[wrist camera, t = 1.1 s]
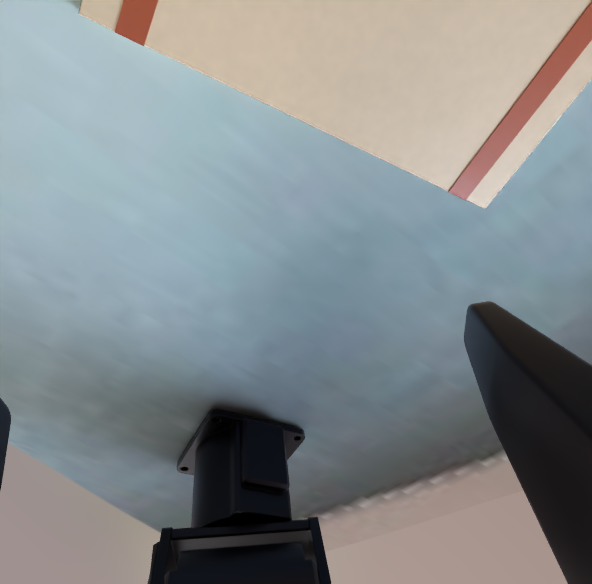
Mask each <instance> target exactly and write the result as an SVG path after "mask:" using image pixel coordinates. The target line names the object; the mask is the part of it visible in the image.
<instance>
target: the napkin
mask: <svg viewBox="0 0 592 584" xmlns="http://www.w3.org/2000/svg"><path fill="white" fill-rule="evenodd" d="M79 14H80V15H82V16H84V17H86V18H88V19H90V20H92V21H94V22H96V23H99V24H101V25H103V26H105V27H107V28H109V29H111V30H113V31H115V32H116V33H118V34H120V35H122V36H124V37H126V38H128V39H130V40H132V41H134V42H136V43H138V44H141V45H143V46H147V47H149V48H151V49H153V50H155V51H157V52H159V53H161V54H163V55H165V56H167V57H169V58H172V59H174V60H176V61H178V62H180V63H182V64H184V65H186V66H188V67H190V68H192V69H194V70H197V71H199V72H201V73H203V74H205V75H207V76H209V77H211V78H213V79H215V80H217V81H219V82H222V83H224V84H226V85H228V86H230V87H232V88H234V89H236V90H238V91H240V92H242V93H244V94H247V95H249V96H251V97H253V98H255V99H257V100H259V101H261V102H263V103H265V104H267V105H269V106H272V107H274V108H276V109H278V110H280V111H282V112H284V113H286V114H288V115H290V116H292V117H294V118H297V119H299V120H301V121H303V122H305V123H307V124H309V125H311V126H313V127H315V128H317V129H320V130H322V131H324V132H326V133H328V134H330V135H332V136H334V137H336V138H338V139H340V140H342V141H345V142H347V143H349V144H351V145H353V146H355V147H357V148H359V149H361V150H363V151H365V152H367V153H370V154H372V155H374V156H376V157H378V158H380V159H382V160H384V161H386V162H388V163H390V164H392V165H395V166H397V167H399V168H401V169H403V170H405V171H407V172H409V173H411V174H413V175H415V176H417V177H420V178H422V179H424V180H426V181H428V182H430V183H432V184H434V185H436V186H438V187H440V188H442V189H445V190H447V191H448V192H449V193H452V194H454V195H456V196H458V197H460V198H462V199H464V200H467V201H470V202H472V203H474V204H476V205H478V206H480V207H482V208H484V209H486V207H487V206H488V205H489V204H490V202H491V201H492V200H493V199H494V198H495V196H496V195H497V194H498V193H499V191H500V190H501V189H502V188H503V187H504V185H505V184H506V183H507V182H508V180H509V179H510V178H511V177H512V176H513V174H514V173H515V172H516V171H517V170H518V168H519V167H520V166H521V165H522V163H523V162H524V161H525V160H526V159H527V157H528V156H529V155H530V154H531V152H532V151H533V150H534V149H535V148H536V146H537V145H538V144H539V143H540V141H541V140H542V139H543V138H544V137H545V135H546V134H547V133H548V132H549V130H550V129H551V128H552V127H553V126H554V124H555V123H556V122H557V121H558V119H559V118H560V117H561V116H562V115H563V113H564V112H565V111H566V110H567V108H568V107H569V106H570V105H571V104H572V102H573V101H574V100H575V99H576V98H577V96H578V95H579V94H580V93H581V91H582V90H583V89H584V88H585V87H586V85H587V84H588V83H589V82H590V80H591V79H592V0H82V2H81V6H80V10H79Z"/></svg>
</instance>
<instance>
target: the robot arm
mask: <svg viewBox="0 0 592 584" xmlns="http://www.w3.org/2000/svg"><path fill="white" fill-rule="evenodd" d="M464 342H465V347H466V350H467V353H468V356H469V359H470V362H471V365H472V368H473V371H474V374H475V377H476V380H477V383H478V386H479V389H480V392H481V395H482V398H483V401H484V404H485V407H486V409H487V412H488V415H489V418H490V420H491V422H492V425H493V427H494V429H495V431H496V433H497V436H498V438H499V440H500V442H501V444H502V446H503V448H504V450H505V452H506V454H507V457H508V459H509V461H510V463H511V465H512V467H513V469H514V471H515V473H516V475H517V478H518V480H519V482H520V484H521V486H522V488H523V490H524V492H525V494H526V496H527V498H528V501H529V503H530V505H531V507H532V509H533V511H534V513H535V515H536V517H537V520H538V522H539V524H540V526H541V528H542V530H543V532H544V534H545V536H546V538H547V540H548V543H549V545H550V547H551V549H552V551H553V553H554V555H555V557H556V559H557V562H558V564H559V566H560V568H561V570H562V572H563V574H564V576H565V578H566V580H567V583H568V584H592V365H590V364H589V363H587V362H586V361H584V360H582V359H581V358H579V357H578V356H576V355H575V354H573V353H572V352H570V351H568V350H567V349H565V348H564V347H562V346H561V345H559V344H558V343H556V342H554V341H553V340H551V339H550V338H548V337H547V336H545V335H544V334H542V333H540V332H539V331H537V330H536V329H534V328H533V327H531V326H530V325H528V324H526V323H525V322H523V321H522V320H520V319H519V318H517V317H516V316H514V315H512V314H511V313H509V312H508V311H506V310H505V309H503V308H501V307H500V306H498V305H497V304H495V303H493V302H490V301H487V302H481V303H475V304H471V305H470V306H469V307H468V309H467V315H466V324H465V332H464ZM10 424H11V415H10V411H9V409H8V407H7V406H6V404H5V403H4V402H3V401H2V399H1V398H0V489H1V483H2V477H3V471H4V464H5V457H6V451H7V444H8V437H9V431H10ZM304 439H305V435H304V431H303V430H302V429H300V428H295V427H291V426H287V425H282V424H278V423H274V422H269V421H265V420H261V419H257V418H252V417H248V416H244V415H239V414H235V413H231V412H227V411H222V410H212V411H210V412H209V413H208V415H207V417H206V418H205V420H204V421H203V423H202V425H201V426H200V428H199V429H198V431H197V432H196V434H195V436H194V437H193V439H192V440H191V442H190V444H189V445H188V447H187V448H186V450H185V452H184V453H183V455H182V456H181V458H180V459H179V461H178V463H177V471H178V472H180V473H185V474H190V475H194V487H193V504H192V522H191V528H181V529H173V528H172V527H170V528H162V532H161V538H160V542H158V543H156V544H155V545H153V553H152V562H151V570H150V576H149V580H148V584H331V580H330V575H329V570H328V565H327V560H326V555H325V550H324V545H323V540H322V536H321V531H320V526H319V521H318V517H310V518H308V519H306V520H292V516H291V506H290V495H289V476H288V465H287V460H288V459H289V457H290V456H291V455H292V454H293V453H294V451H295V450H296V449H297V448H298V447H299V445H300V444H301V443H302V442H303V441H304Z"/></svg>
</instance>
